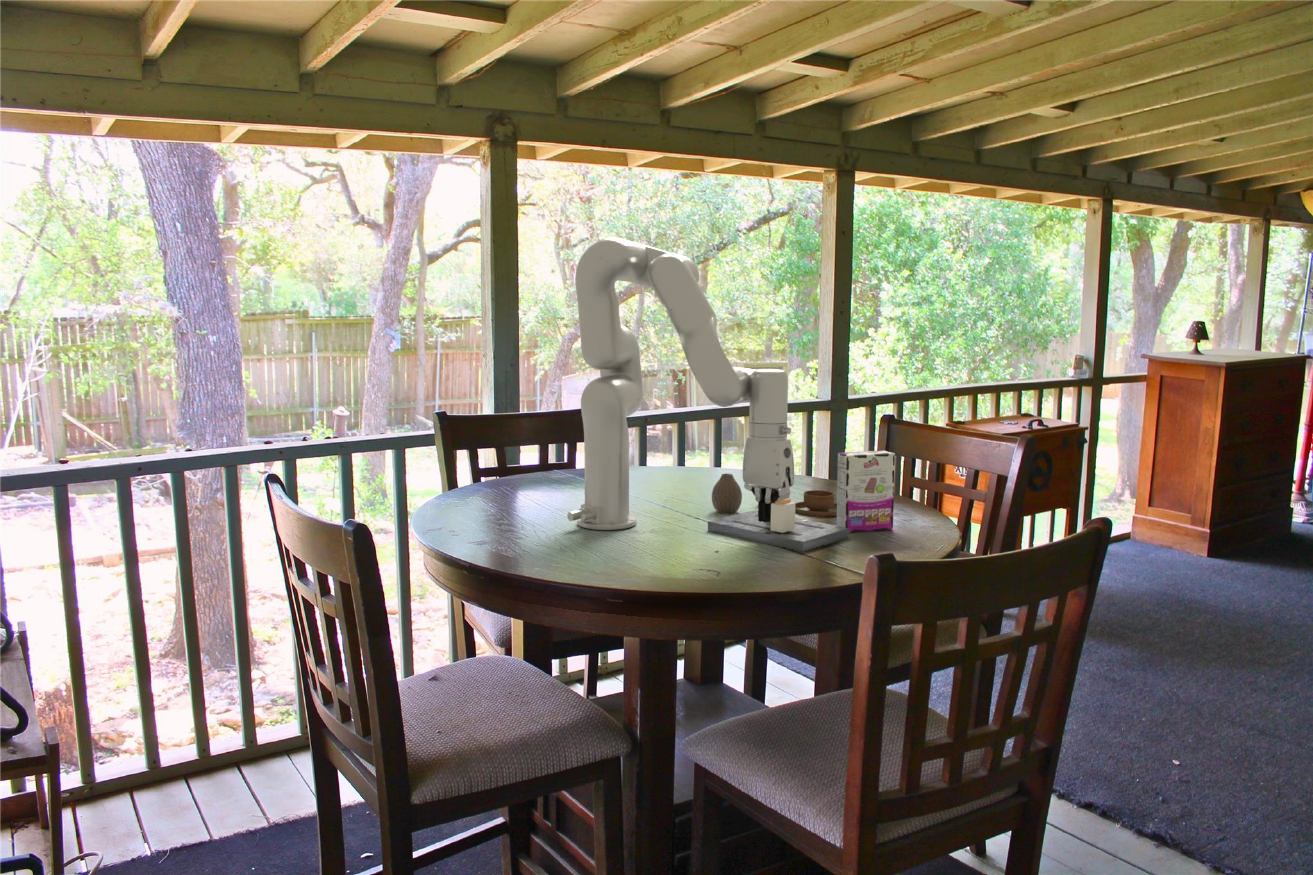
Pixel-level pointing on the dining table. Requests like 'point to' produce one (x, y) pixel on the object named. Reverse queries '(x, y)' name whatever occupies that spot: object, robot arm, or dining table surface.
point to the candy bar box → (865, 490)
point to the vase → (726, 495)
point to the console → (798, 539)
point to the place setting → (817, 503)
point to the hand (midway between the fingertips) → (766, 520)
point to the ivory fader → (783, 516)
